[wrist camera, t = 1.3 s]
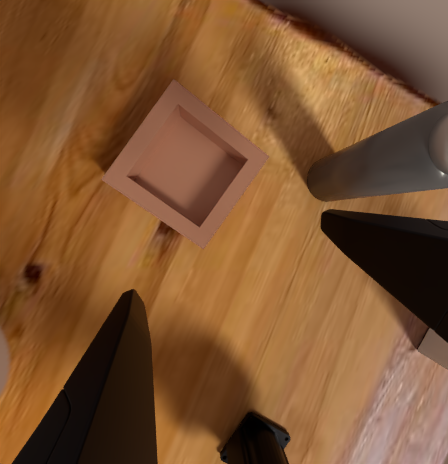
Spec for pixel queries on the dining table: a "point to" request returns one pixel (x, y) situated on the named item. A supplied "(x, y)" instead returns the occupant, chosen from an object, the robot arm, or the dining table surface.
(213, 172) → the terracotta holder
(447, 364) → the milk carton
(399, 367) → the dining table surface
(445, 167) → the pepper mill
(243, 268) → the dining table surface
